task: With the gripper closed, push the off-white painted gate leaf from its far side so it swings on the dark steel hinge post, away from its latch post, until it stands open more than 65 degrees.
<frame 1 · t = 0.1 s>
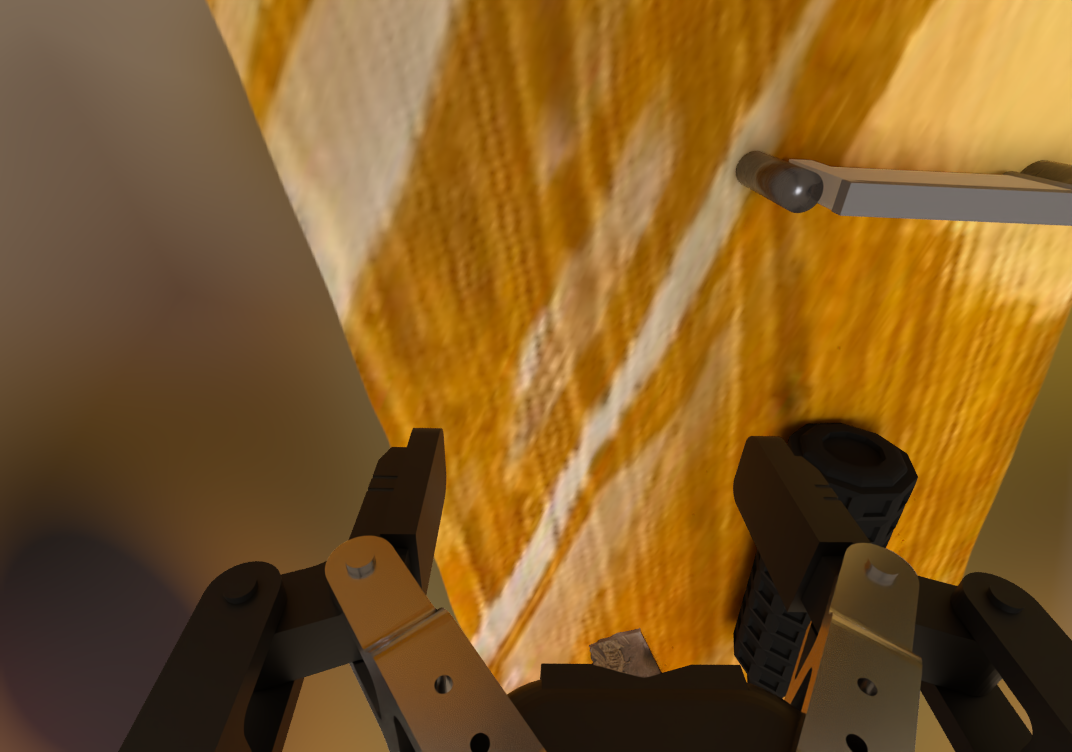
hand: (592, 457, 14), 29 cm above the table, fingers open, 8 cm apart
gate frame: (1034, 182, 39), on the table
roller: (780, 550, 60), on the table
brown flat slab: (619, 680, 73), on the table
gate leaf: (941, 190, 34), point 5 cm above the table, hinge at 0.0°
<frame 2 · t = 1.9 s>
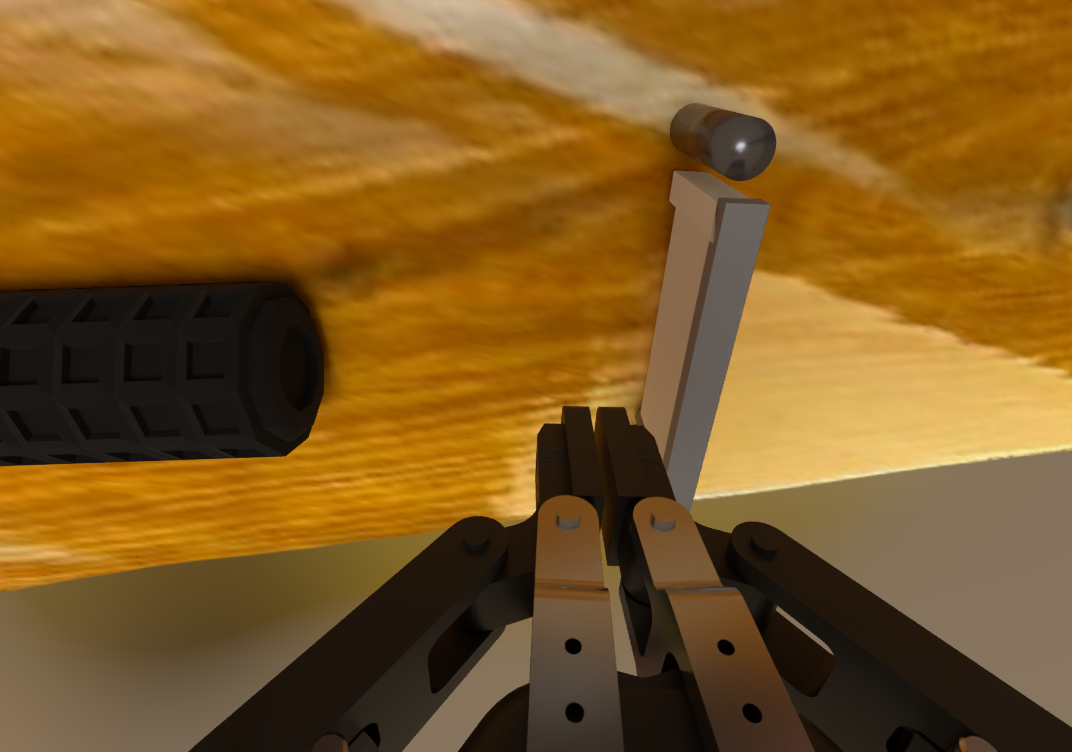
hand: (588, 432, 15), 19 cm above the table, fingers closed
gate frame: (637, 440, 39), on the table
roller: (40, 339, 34), on the table
gate leaf: (682, 345, 29), point 5 cm above the table, hinge at 0.0°
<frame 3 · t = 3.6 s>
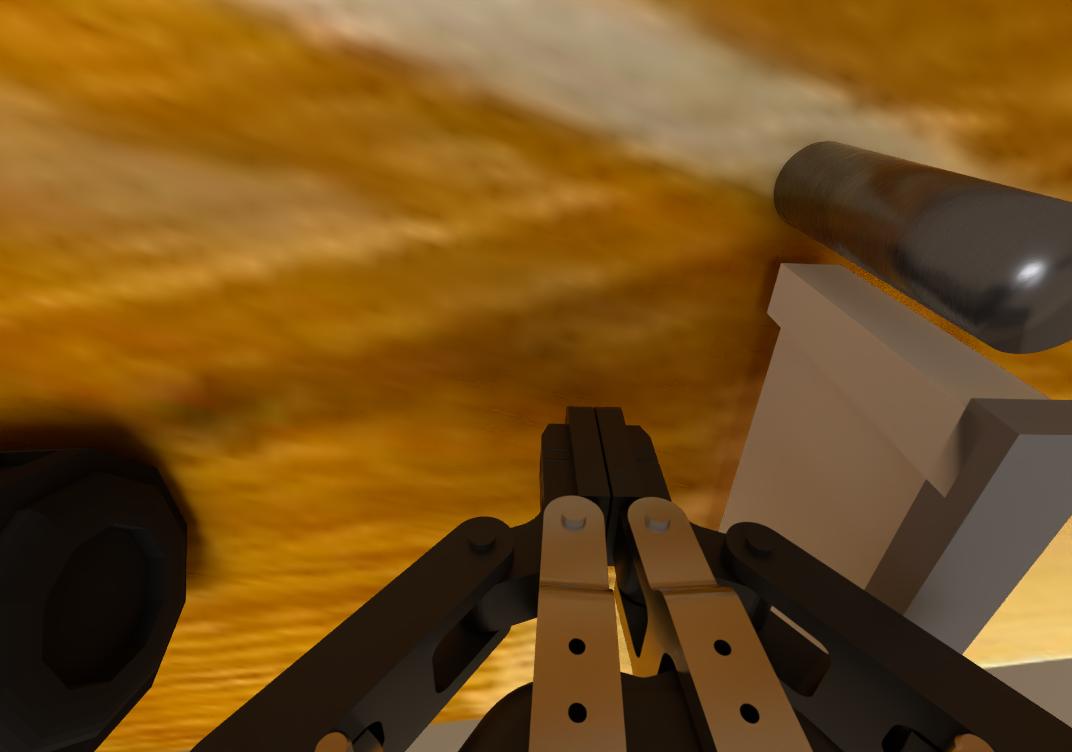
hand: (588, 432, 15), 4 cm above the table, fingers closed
gate frame: (683, 628, 26), on the table
gate leaf: (791, 574, 16), point 5 cm above the table, hinge at 0.0°
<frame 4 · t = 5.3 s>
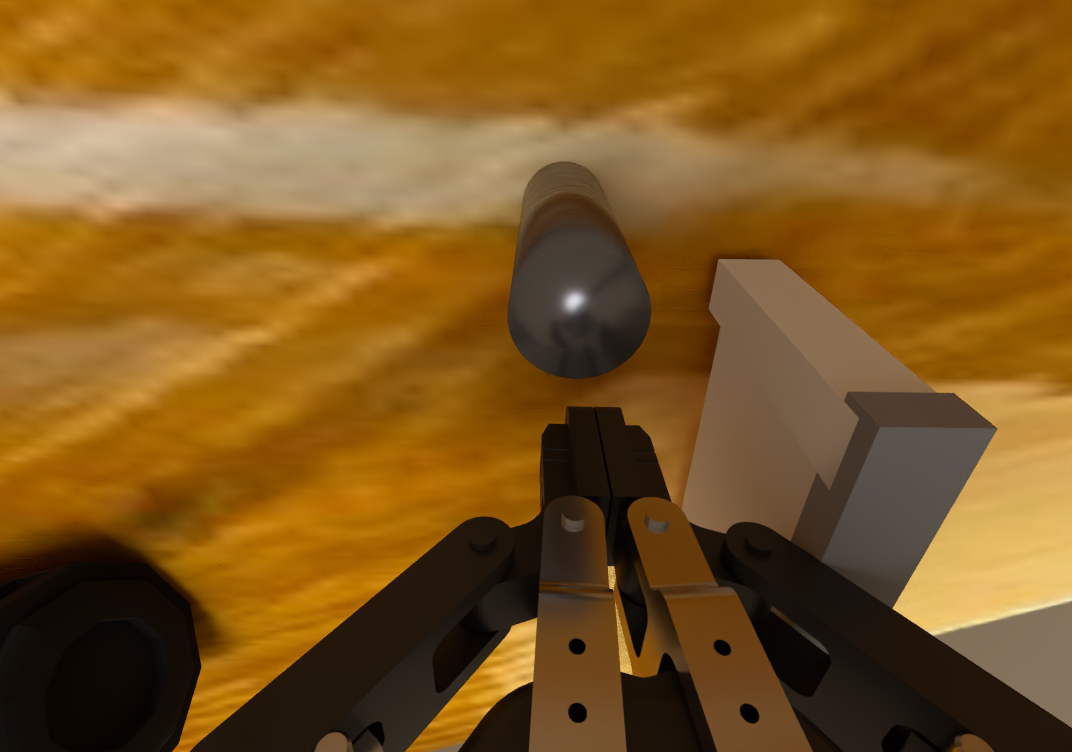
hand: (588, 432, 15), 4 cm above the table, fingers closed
gate frame: (657, 623, 26), on the table
gate leaf: (735, 568, 16), point 5 cm above the table, hinge at 15.1°, touching hand
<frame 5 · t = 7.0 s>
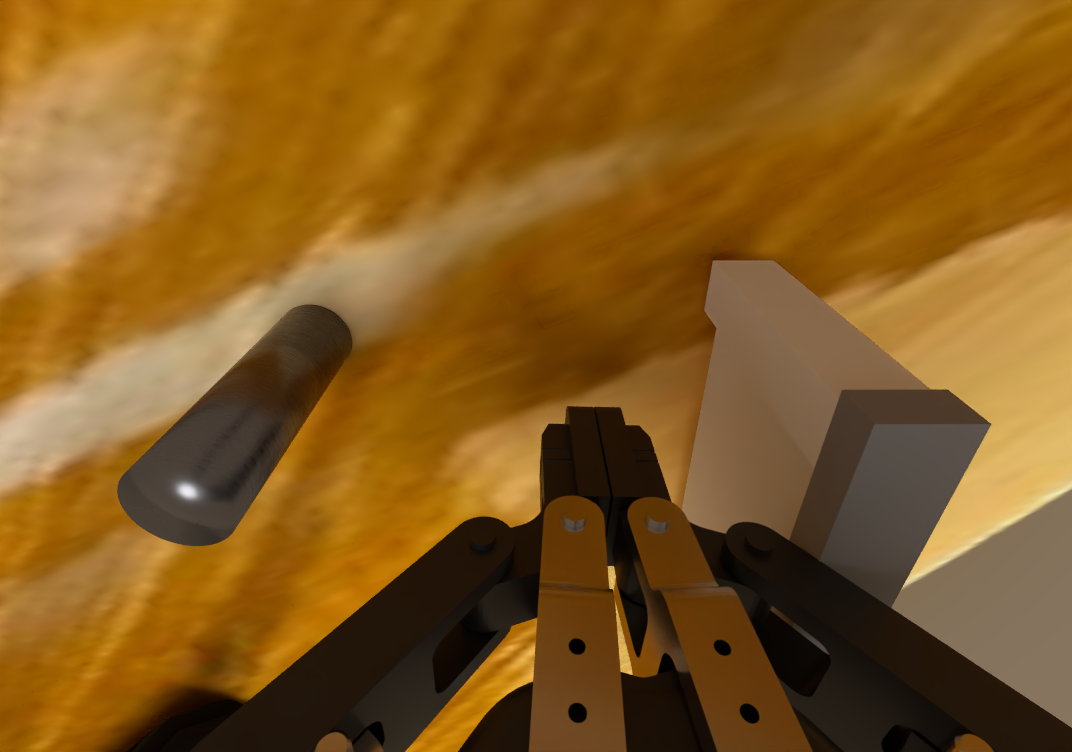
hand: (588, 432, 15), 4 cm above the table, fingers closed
gate frame: (659, 626, 26), on the table
gate leaf: (735, 569, 16), point 5 cm above the table, hinge at 40.3°, touching hand
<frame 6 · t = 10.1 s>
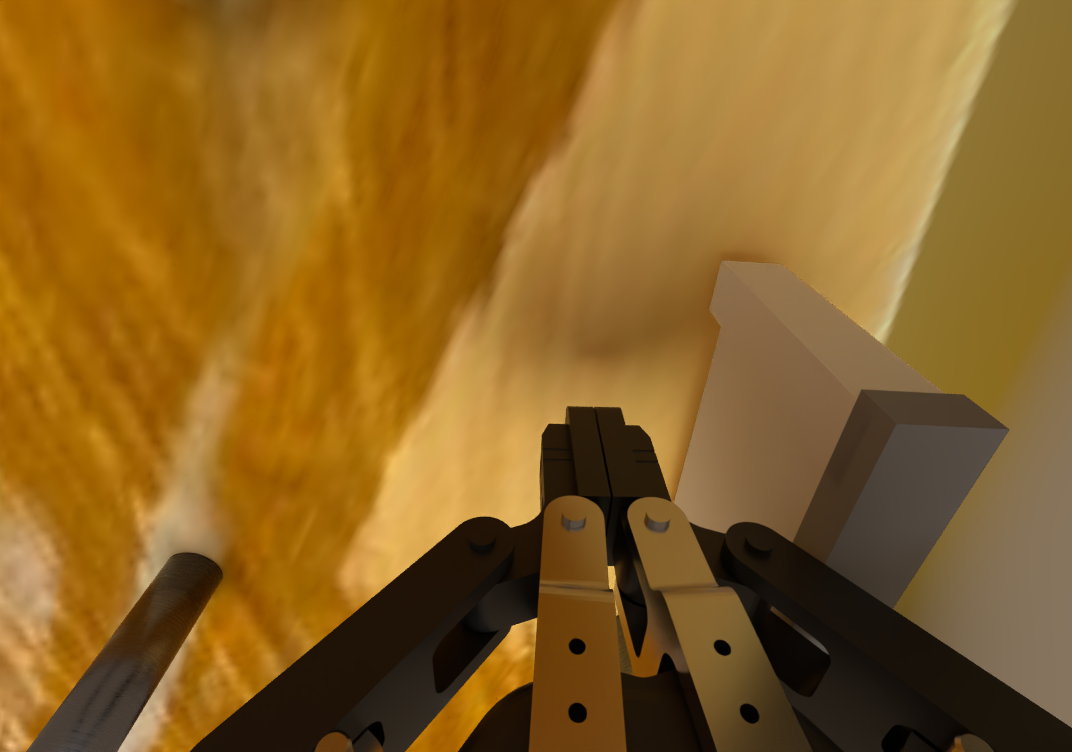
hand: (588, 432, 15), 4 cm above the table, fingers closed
gate frame: (639, 627, 26), on the table
gate leaf: (726, 570, 16), point 5 cm above the table, hinge at 81.8°, touching hand
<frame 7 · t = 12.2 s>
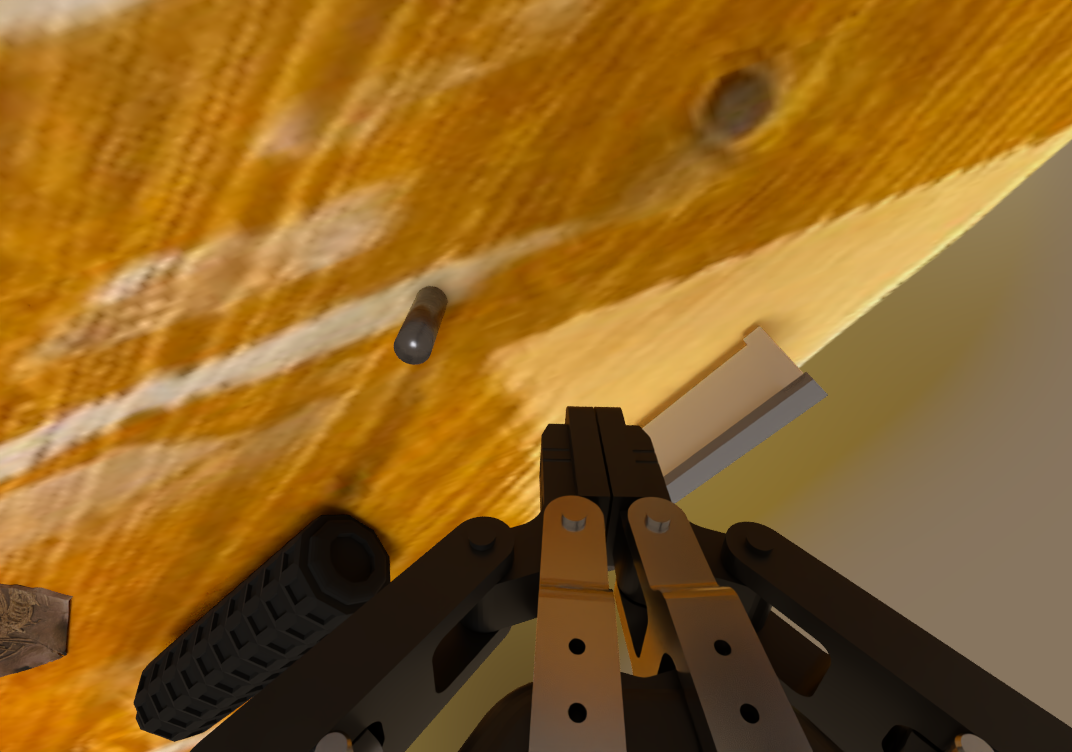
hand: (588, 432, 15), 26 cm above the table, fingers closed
gate frame: (590, 463, 49), on the table
roller: (263, 601, 59), on the table
brown flat slab: (13, 636, 61), on the table
gate leaf: (697, 428, 41), point 5 cm above the table, hinge at 81.9°
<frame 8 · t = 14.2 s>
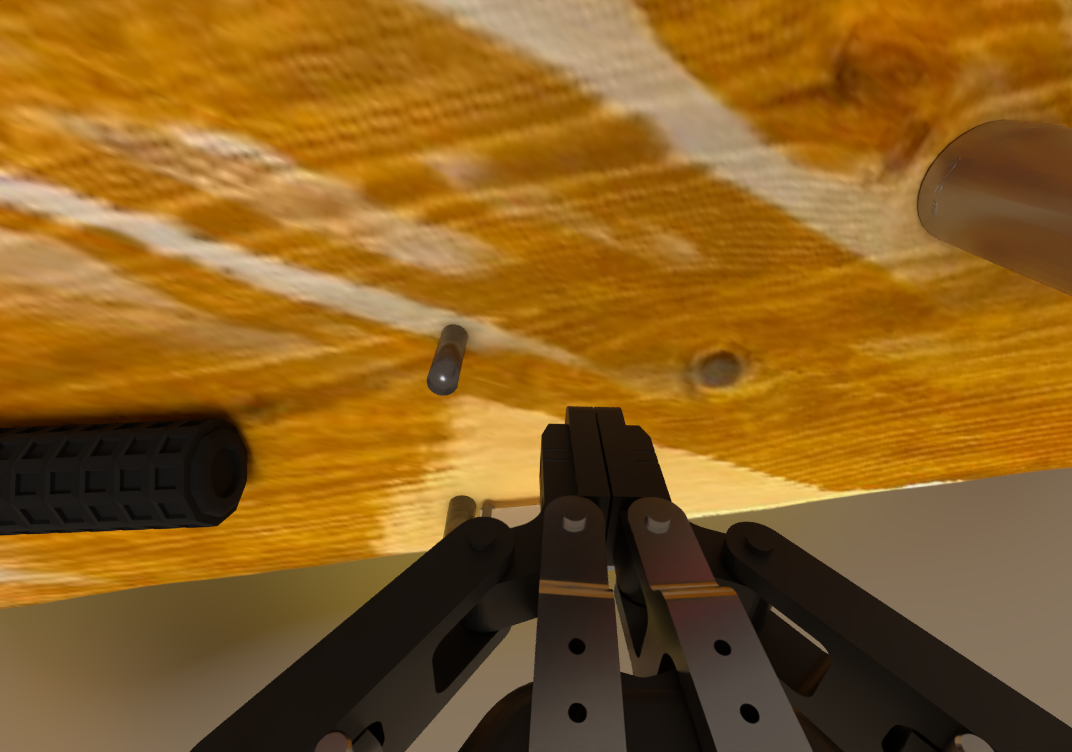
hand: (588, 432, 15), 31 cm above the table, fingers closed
gate frame: (462, 505, 59), on the table
roller: (68, 445, 54), on the table
gate leaf: (560, 533, 54), point 5 cm above the table, hinge at 81.9°
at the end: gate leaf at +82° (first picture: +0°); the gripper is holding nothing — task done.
